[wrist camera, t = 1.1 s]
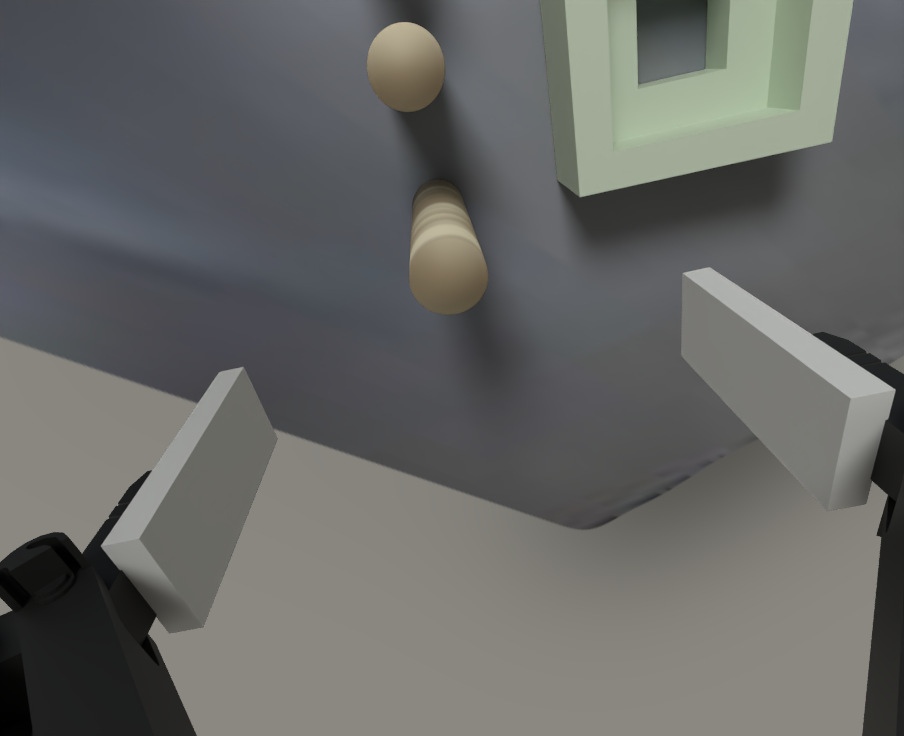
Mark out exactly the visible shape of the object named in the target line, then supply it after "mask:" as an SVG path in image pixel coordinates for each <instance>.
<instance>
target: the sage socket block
mask: <svg viewBox="0 0 904 736" xmlns="http://www.w3.org/2000/svg"><path fill="white" fill-rule="evenodd" d="M852 6H853V0H708V5H707V33H706V60H705V69H704V70H700V71H695V72H691V73H687V74H682V75H678V76H673V77H669V78H665V79H660V80H656V81H652V82H647V83H643V84H639V85H638V65H637V15H636V0H540V7H541V18H542V28H543V38H544V49H545V59H546V69H547V80H548V90H549V100H550V111H551V121H552V131H553V142H554V152H555V162H556V173H557V180H558V181H559V182H560V183H562V184H563V185H564V186H566V187H567V188H568V189H570V190H571V191H572V192H574V193H575V194H576V195H578V196H579V197H583V196H588V195H592V194H597V193H602V192H606V191H611V190H615V189H620V188H624V187H629V186H633V185H638V184H642V183H647V182H652V181H656V180H661V179H665V178H670V177H674V176H679V175H683V174H688V173H693V172H697V171H702V170H706V169H711V168H715V167H720V166H724V165H729V164H734V163H738V162H743V161H747V160H752V159H756V158H761V157H765V156H770V155H774V154H779V153H784V152H788V151H793V150H797V149H802V148H806V147H811V146H815V145H820V144H825V143H829V142H832V137H833V131H834V124H835V118H836V111H837V105H838V98H839V91H840V85H841V78H842V72H843V65H844V59H845V52H846V45H847V39H848V32H849V26H850V19H851V13H852Z"/></svg>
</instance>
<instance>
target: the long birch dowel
mask: <svg viewBox="0 0 904 736" xmlns="http://www.w3.org/2000/svg"><path fill="white" fill-rule="evenodd" d="M409 282H410V287H411V290H412V293H413V295H414V296H415V298H416V299H417V301H418V302H419V303H420V304H421V305H422V306H423V307H425V308H426V309H428V310H430V311H432V312H435V313H438V314H443V315H453V314H458V313H462V312H464V311H466V310H468V309H470V308H471V307H473V306H474V305H475V304H476V303H477V302H478V301H479V300H480V299H481V298H482V296H483V294H484V292H485V290H486V287H487V283H488V269H487V265H486V262H485V260H484V257H483V254H482V251H481V248H480V246H479V243H478V240H477V237H476V234H475V232H474V229H473V226H472V223H471V220H470V217H469V215H468V212H467V209H466V206H465V203H464V201H463V198H462V195H461V193H460V191H459V190H458V189H457V188H456V187H455V186H454V185H453V184H451V183H450V182H448V181H445V180H432V181H429V182H426V183H425V184H423V185H422V186H421V187H420V188H419V189H418V190H417V192H416V194H415V196H414V199H413V207H412V228H411V249H410V270H409Z"/></svg>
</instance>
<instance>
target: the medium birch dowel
mask: <svg viewBox="0 0 904 736" xmlns="http://www.w3.org/2000/svg"><path fill="white" fill-rule="evenodd" d="M367 72H368V78H369V81H370V84H371V86H372V88H373V90H374V92H375V94H376V95H377V96H378V98H379V99H380V100H381V101H382V102H383V103H385V104H386V105H387V106H389V107H391V108H393V109H395V110H398V111H403V112H413V111H417V110H420V109H422V108H424V107H426V106H427V105H429V104H430V103H431V102H432V101H433V100H434V99H435V98H436V96H437V95H438V93H439V92H440V89H441V87H442V84H443V81H444V75H445V63H444V57H443V53H442V51H441V48H440V46H439V44H438V42H437V41H436V39H435V38H434V37H433V36H432V34H431V33H429V32H428V31H427V30H426V29H424V28H423V27H421V26H419V25H417V24H414V23H409V22H400V23H395V24H392V25H390V26H388V27H386V28H385V29H383V30H382V31H381V32H380V33H379V34H378V35H377V36H376V38H375V39H374V41H373V42H372V44H371V47H370V49H369V53H368V58H367Z"/></svg>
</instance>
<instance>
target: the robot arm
mask: <svg viewBox="0 0 904 736" xmlns="http://www.w3.org/2000/svg"><path fill="white" fill-rule="evenodd" d="M681 356H682V357H683V358H684V359H685V360H686V362H687V363H688V364H689V365H690V366H691V367H692V368H693V369H694V370H695V371H696V372H697V373H698V374H699V375H700V376H701V378H702V379H703V380H704V381H705V382H706V383H707V384H708V385H709V386H710V387H711V388H712V389H713V390H714V391H715V392H716V394H717V395H718V396H719V397H720V398H721V399H722V400H723V401H724V402H725V403H726V404H727V405H728V406H729V407H730V408H731V410H732V411H733V412H734V413H735V414H736V415H737V416H738V417H739V418H740V419H741V420H742V421H743V422H744V423H745V424H746V426H747V427H748V428H749V429H750V430H751V431H752V432H753V433H754V434H755V435H756V436H757V437H758V438H759V439H760V440H761V442H762V443H763V444H764V445H765V446H766V447H767V448H768V449H769V450H770V451H771V452H772V453H773V454H774V455H775V456H776V458H777V459H778V460H779V461H780V462H781V463H782V464H783V465H784V466H785V467H786V468H787V469H788V470H789V471H790V472H791V473H792V475H793V476H794V477H795V478H796V479H797V480H798V481H799V482H800V483H801V484H802V485H803V486H804V487H805V488H806V490H807V491H808V492H809V493H810V494H811V495H812V496H813V497H814V498H815V499H816V500H817V501H818V502H819V503H820V504H821V506H823V508H824V509H825V510H826V511H832V510H837V509H842V508H847V507H853V506H859V505H864V504H866V502H867V498H868V495H869V491H870V487H871V483H872V481H873V482H874V483H875V484H877V485H878V486H879V487H880V488H881V489H882V490H883V491H884V492H885V493H886V494H888V497H887V501H886V504H885V507H884V511H883V515H882V518H881V521H880V525H879V528H878V532H877V536H880V537H881V547H880V558H879V568H878V578H877V589H876V599H875V610H874V620H873V631H872V641H871V652H870V661H869V672H868V683H867V692H866V703H865V714H864V723H863V734H862V736H904V374H902V373H901V372H899V371H898V370H896V369H894V368H892V367H891V366H889V365H888V364H886V363H881V360H880V359H878V358H876V357H875V356H873V355H872V354H870V353H868V354H867V353H866V351H865V350H863V349H862V348H860V347H859V346H857V345H855V344H854V343H852V342H850V341H849V340H847V339H843V338H840V337H837V336H834V335H831V334H828V333H825V332H820V333H815V334H810V333H809V332H807V331H806V330H804V329H803V328H801V327H799V326H798V325H796V324H795V323H793V322H792V321H790V320H789V319H787V318H786V317H784V316H783V315H781V314H780V313H778V312H777V311H775V310H774V309H772V308H771V307H769V306H768V305H766V304H764V303H763V302H761V301H760V300H758V299H757V298H755V297H754V296H752V295H751V294H749V293H748V292H746V291H745V290H743V289H742V288H740V287H739V286H737V285H736V284H734V283H733V282H731V281H729V280H728V279H726V278H725V277H723V276H722V275H720V274H719V273H717V272H716V271H714V270H713V269H711V268H710V267H709V268H704V269H699V270H695V271H690V272H685V273H683V278H682V345H681ZM276 442H277V436H276V434H275V432H274V430H273V428H272V426H271V423H270V421H269V419H268V417H267V415H266V413H265V411H264V409H263V406H262V404H261V402H260V400H259V398H258V396H257V394H256V392H255V390H254V387H253V385H252V383H251V381H250V379H249V377H248V375H247V373H246V370H245V368H244V367H240V368H236V369H231V370H226V371H222V372H219V373H218V375H217V376H216V378H215V379H214V381H213V382H212V384H211V385H210V386H209V388H208V389H207V391H206V392H205V394H204V395H203V397H202V398H201V400H200V401H199V403H198V404H197V406H196V407H195V409H194V410H193V411H192V413H191V414H190V416H189V417H188V419H187V420H186V422H185V423H184V425H183V426H182V428H181V429H180V431H179V432H178V434H177V435H176V437H175V438H174V439H173V441H172V442H171V444H170V445H169V447H168V448H167V450H166V451H165V453H164V454H163V456H162V457H161V459H160V460H159V461H158V463H157V464H156V466H155V467H154V469H153V470H151V471H147V472H146V473H145V474H144V475H143V476H141V477H140V478H139V479H138V480H137V481H136V482H135V483H133V484H132V485H131V486H130V487H129V489H128V490H127V491H126V493H125V494H124V496H123V497H122V498H121V500H120V501H119V503H118V504H119V505H118V506H116V507H115V508H114V510H113V511H112V512H111V514H110V515H109V519H107V520H106V521H105V522H104V524H103V525H102V527H101V528H100V529H99V531H98V532H97V534H96V535H95V537H94V538H93V539H92V541H91V542H90V544H89V545H88V546H87V548H86V549H85V550H84V552H83V554H81V552H80V551H79V550H78V548H77V547H76V546H75V545H74V544H73V542H72V541H71V540H70V539H69V537H68V536H67V535H65V534H64V533H59V532H53V533H50V534H46V535H42V536H39V537H37V538H35V539H33V540H31V541H29V542H27V543H25V544H24V545H22V546H20V547H19V548H17V549H16V550H14V551H13V552H12V553H10V554H9V555H8V556H7V557H6V558H5V559H3V560H2V561H1V562H0V598H1V599H2V600H3V601H4V602H5V603H6V604H7V605H8V606H9V607H10V608H11V609H12V610H13V611H10V612H8V613H6V614H3V615H1V616H0V736H197V735H196V733H195V731H194V728H193V726H192V724H191V722H190V720H189V717H188V715H187V713H186V710H185V708H184V706H183V704H182V702H181V699H180V697H179V695H178V693H177V690H176V688H175V686H174V683H173V681H172V679H171V677H170V674H169V672H168V670H167V668H166V665H165V663H164V661H163V659H162V656H161V654H160V652H159V650H158V647H157V645H156V643H155V642H154V641H153V640H152V638H151V637H150V636H149V635H148V632H149V630H150V628H151V626H152V624H153V622H154V620H155V618H156V617H157V618H158V620H159V621H160V622H161V623H162V625H163V626H164V627H165V628H166V630H167V631H168V632H169V633H175V632H180V631H186V630H191V629H196V628H202V627H204V624H205V622H206V619H207V617H208V614H209V612H210V609H211V607H212V604H213V602H214V599H215V596H216V594H217V591H218V589H219V586H220V584H221V581H222V579H223V576H224V574H225V571H226V569H227V566H228V563H229V561H230V558H231V556H232V553H233V551H234V548H235V545H236V543H237V540H238V538H239V536H240V533H241V530H242V528H243V525H244V523H245V520H246V518H247V515H248V513H249V510H250V508H251V505H252V503H253V500H254V497H255V495H256V492H257V490H258V487H259V485H260V482H261V480H262V477H263V475H264V472H265V470H266V467H267V464H268V462H269V459H270V457H271V454H272V452H273V449H274V447H275V444H276Z"/></svg>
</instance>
